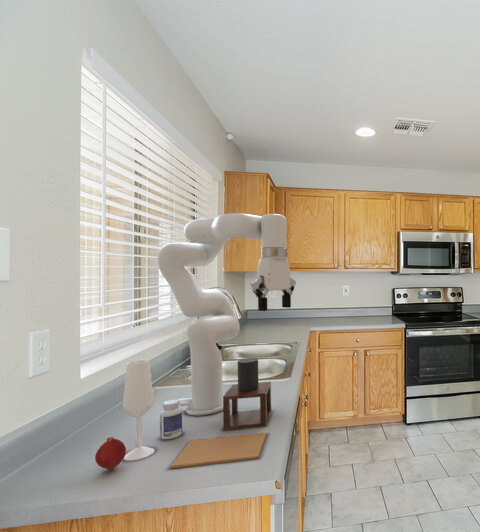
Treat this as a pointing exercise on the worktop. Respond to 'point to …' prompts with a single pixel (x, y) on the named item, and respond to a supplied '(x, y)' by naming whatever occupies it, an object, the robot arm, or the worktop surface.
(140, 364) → the champagne flute
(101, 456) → the onion
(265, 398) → the wooden frame
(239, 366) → the dark grey cylinder
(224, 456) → the mat
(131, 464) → the worktop surface
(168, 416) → the pill bottle
